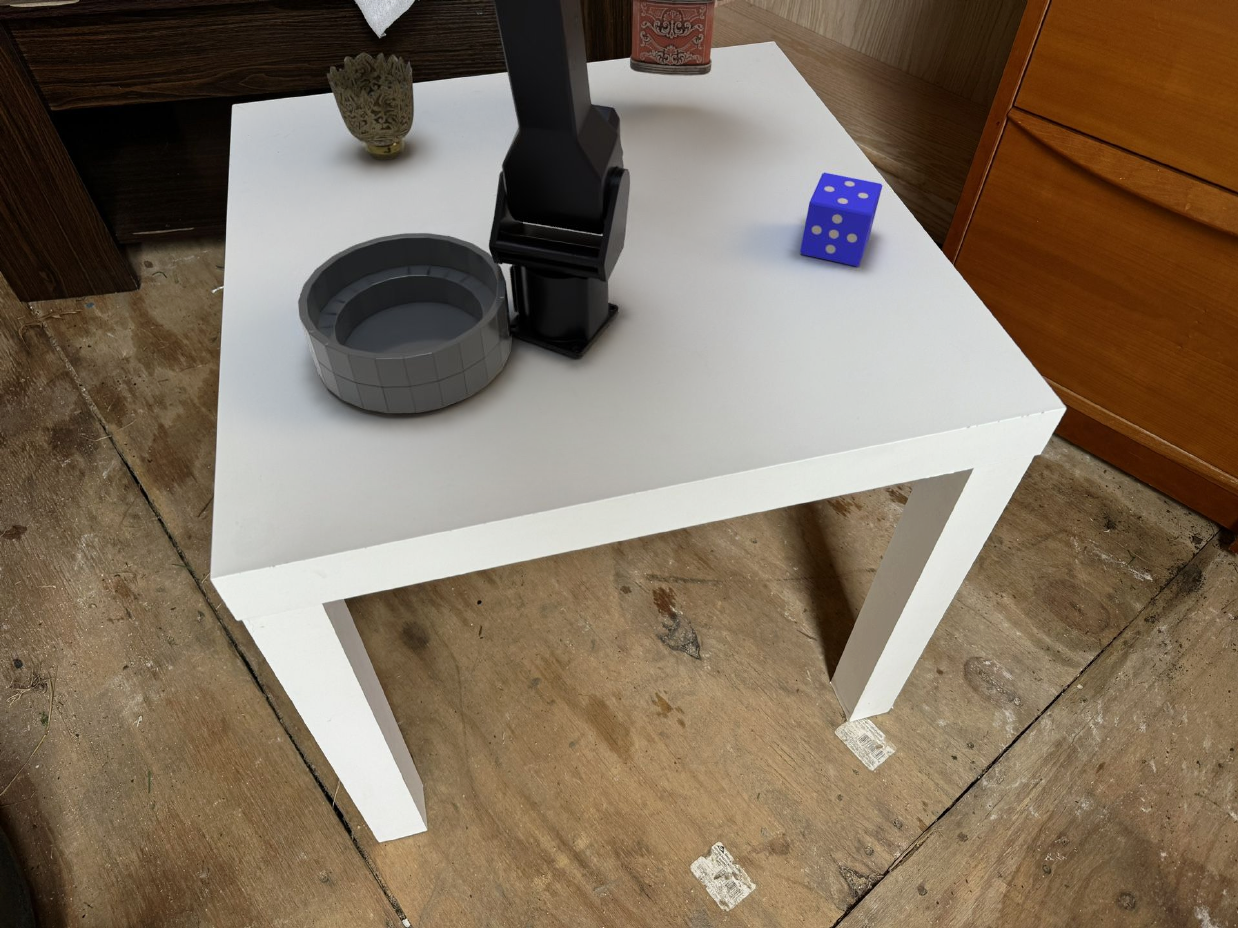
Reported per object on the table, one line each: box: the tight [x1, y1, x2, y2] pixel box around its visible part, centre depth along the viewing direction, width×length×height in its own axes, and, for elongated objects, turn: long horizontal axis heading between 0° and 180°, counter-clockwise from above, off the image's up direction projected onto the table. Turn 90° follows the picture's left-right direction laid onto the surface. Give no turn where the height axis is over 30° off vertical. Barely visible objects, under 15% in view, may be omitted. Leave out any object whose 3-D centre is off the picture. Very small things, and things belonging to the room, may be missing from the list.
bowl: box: [297, 232, 513, 414], centre depth 64 cm, size 14×14×6 cm
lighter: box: [629, 0, 716, 77], centre depth 84 cm, size 8×3×10 cm, turn 84°
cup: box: [326, 52, 415, 160], centre depth 82 cm, size 8×7×8 cm
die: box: [799, 172, 883, 267], centre depth 73 cm, size 5×5×5 cm
